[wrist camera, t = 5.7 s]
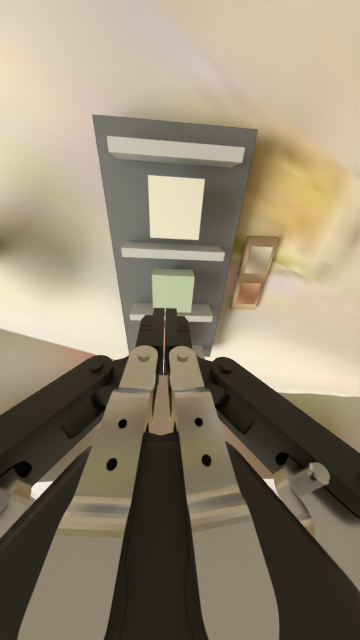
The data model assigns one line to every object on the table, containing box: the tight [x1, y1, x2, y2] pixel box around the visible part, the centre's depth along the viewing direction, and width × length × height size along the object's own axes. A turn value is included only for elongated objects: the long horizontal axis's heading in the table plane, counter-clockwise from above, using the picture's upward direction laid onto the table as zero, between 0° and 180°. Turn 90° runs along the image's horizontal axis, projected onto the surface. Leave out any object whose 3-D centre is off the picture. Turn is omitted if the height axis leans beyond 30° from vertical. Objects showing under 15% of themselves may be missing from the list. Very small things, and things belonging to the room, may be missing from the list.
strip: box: [230, 236, 279, 309], centre depth 29 cm, size 12×4×1 cm, turn 177°
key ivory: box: [148, 175, 205, 240], centre depth 19 cm, size 5×5×5 cm
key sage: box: [152, 268, 195, 313], centre depth 24 cm, size 5×5×5 cm
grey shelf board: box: [92, 114, 258, 363], centre depth 26 cm, size 32×16×6 cm, turn 177°
